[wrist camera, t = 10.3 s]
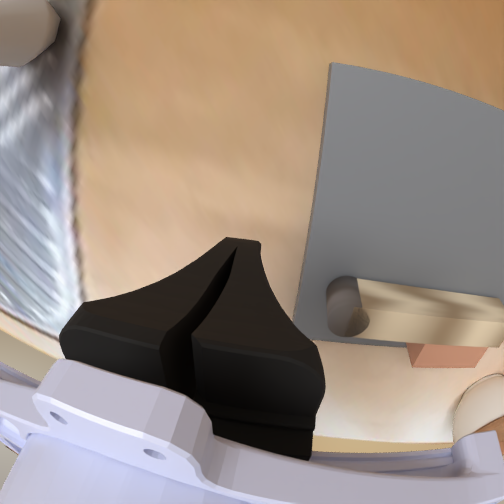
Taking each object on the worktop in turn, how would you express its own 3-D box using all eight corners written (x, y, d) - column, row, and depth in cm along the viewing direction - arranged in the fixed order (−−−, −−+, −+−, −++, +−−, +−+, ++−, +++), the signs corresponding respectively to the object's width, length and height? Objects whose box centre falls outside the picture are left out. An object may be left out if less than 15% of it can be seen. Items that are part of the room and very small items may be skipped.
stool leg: (322, 304, 22) (323, 334, 19) (330, 273, 20) (333, 302, 18) (485, 322, 21) (498, 348, 18) (499, 297, 19) (514, 322, 17)
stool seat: (477, 334, 24) (493, 374, 20) (292, 319, 26) (288, 366, 22) (553, 136, 14) (594, 156, 10) (329, 64, 16) (338, 58, 12)
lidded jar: (477, 417, 31) (490, 474, 23) (427, 409, 31) (438, 478, 23) (533, 367, 26) (557, 427, 18) (489, 352, 25) (517, 425, 17)
